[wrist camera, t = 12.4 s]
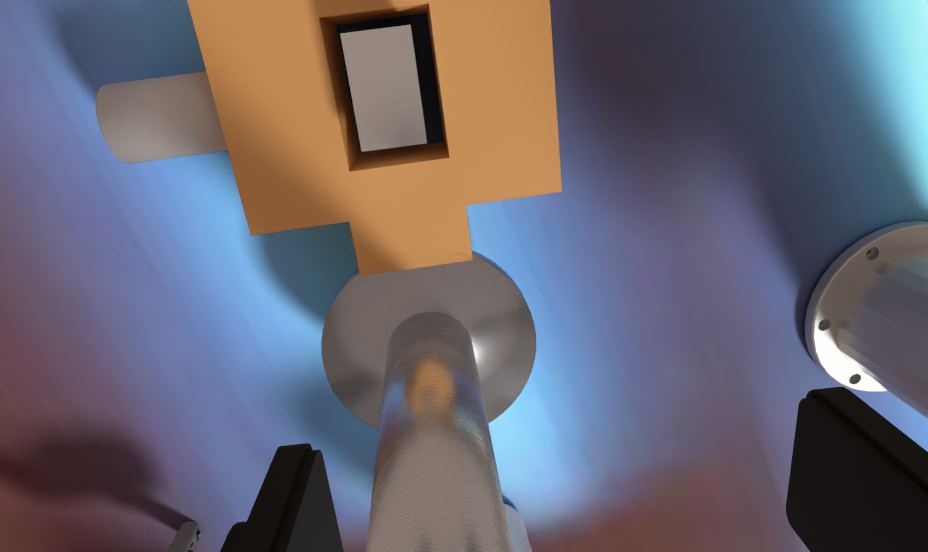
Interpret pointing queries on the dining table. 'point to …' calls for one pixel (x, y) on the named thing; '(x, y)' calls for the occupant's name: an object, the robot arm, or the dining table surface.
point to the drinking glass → (517, 530)
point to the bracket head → (333, 127)
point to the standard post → (432, 396)
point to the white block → (384, 87)
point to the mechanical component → (185, 538)
